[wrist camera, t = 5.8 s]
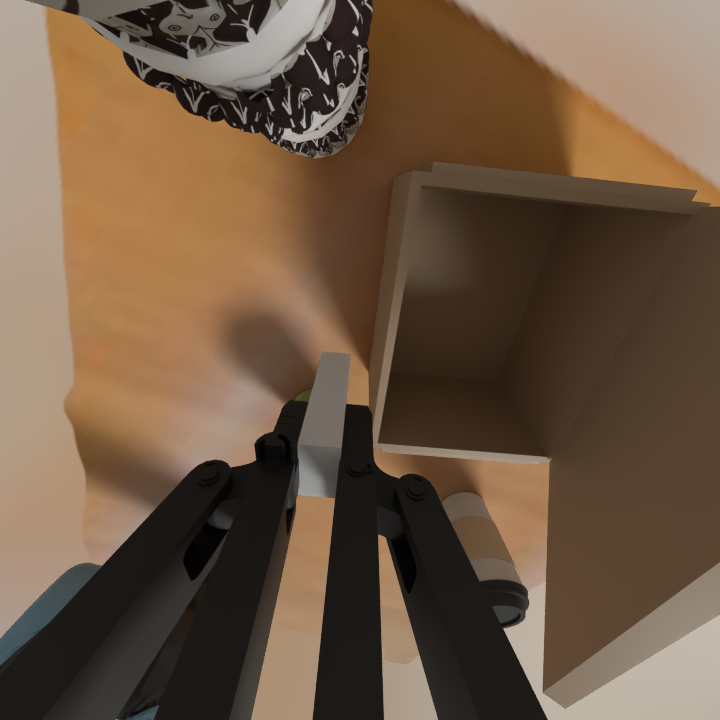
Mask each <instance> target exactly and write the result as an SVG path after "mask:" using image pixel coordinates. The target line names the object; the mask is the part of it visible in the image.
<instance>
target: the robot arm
mask: <svg viewBox="0 0 720 720" xmlns="http://www.w3.org/2000/svg"><path fill="white" fill-rule="evenodd" d="M349 365H350V354H342V353H331V352H322V355H321V358H320V362H319V366H318V370H317V373H316V377H315V381H314V384H313V388H312V392H311V396H310V399H309V402H307V401H294V400H290V401H289V402H288V403H286V404H285V405H284V406H283V408H282V410H281V413H280V415H279V418H278V421H277V424H276V426H275V429H274V431H273V432H270V433H267V434H264V435H263V436H261V437H260V438H259V439H258V440H257V441H256V443H255V444H254V445H255V453H256V461H254V462H252V463H250V464H246V465H242V466H237V467H232V468H230V466H229V465H228V463H226V462H224V461H221V460H211V461H206V462H204V463H202V464H200V465H198V466H197V467H195V468H194V469H193V470H192V471H191V472H190V473H189V474H188V475H187V476H186V477H185V478H184V479H183V480H182V481H181V482H180V483H179V485H178V486H177V487H176V488H175V489H174V490H173V491H172V492H171V493H170V494H169V495H168V496H167V497H166V498H165V499H164V501H163V502H162V503H161V504H160V505H159V506H158V507H157V508H156V509H155V510H154V511H153V512H152V513H151V514H150V515H149V517H148V518H147V519H146V520H145V521H144V522H143V523H142V524H141V525H140V526H139V527H138V528H137V529H136V530H135V532H134V533H133V534H132V535H131V536H130V537H129V538H128V539H127V540H126V541H125V542H124V543H123V544H122V545H121V546H120V548H119V549H118V550H117V551H116V552H115V553H114V554H113V555H112V556H111V557H110V558H109V559H108V560H107V561H106V562H105V564H104V565H103V566H100V565H96V564H93V563H82V564H78V565H76V566H74V567H72V568H70V569H69V570H67V571H66V572H65V573H64V574H63V575H61V576H60V577H59V578H58V579H57V580H56V581H55V582H54V583H53V584H52V585H51V586H50V587H49V588H48V589H47V590H46V591H45V592H44V593H43V594H42V595H41V596H40V597H39V598H38V599H37V600H36V601H35V602H34V603H33V604H32V605H31V606H30V607H29V608H28V609H27V610H26V611H25V612H24V614H23V615H22V616H21V617H20V618H19V619H18V620H17V621H16V622H15V623H14V624H13V625H12V626H11V628H10V629H9V630H8V631H7V632H6V633H5V634H4V635H3V636H2V638H1V639H0V720H115V719H118V720H251V716H252V712H253V707H254V703H255V698H256V693H257V689H258V684H259V679H260V675H261V670H262V665H263V661H264V656H265V651H266V647H267V642H268V637H269V633H270V628H271V623H272V619H273V614H274V610H275V605H276V600H277V596H278V591H279V586H280V582H281V577H282V572H283V568H284V563H285V559H286V554H287V549H288V545H289V540H290V535H291V531H292V526H293V521H294V517H295V512H296V498H297V493H298V494H299V495H300V496H314V497H328V498H335V506H334V516H333V525H332V535H331V545H330V555H329V565H328V574H327V584H326V594H325V604H324V614H323V623H322V633H321V643H320V653H319V662H318V672H317V682H316V692H315V702H314V711H313V720H384V710H383V678H382V646H381V614H380V583H379V552H378V534H379V535H382V536H384V537H386V539H387V543H388V546H389V550H390V553H391V557H392V560H393V564H394V567H395V571H396V574H397V578H398V581H399V585H400V588H401V592H402V595H403V599H404V602H405V606H406V609H407V612H408V616H409V619H410V623H411V626H412V630H413V633H414V637H415V640H416V644H417V647H418V651H419V654H420V658H421V661H422V664H423V668H424V672H425V675H426V678H427V682H428V685H429V689H430V692H431V696H432V699H433V703H434V706H435V710H436V713H437V717H438V720H548V719H547V717H546V715H545V713H544V711H543V709H542V708H541V705H540V703H539V701H538V699H537V697H536V695H535V693H534V691H533V690H532V687H531V685H530V683H529V681H528V679H527V677H526V675H525V673H524V671H523V668H522V666H521V665H520V662H519V660H518V658H517V656H516V654H515V652H514V650H513V648H512V646H511V644H510V642H509V640H508V638H507V636H506V634H505V632H504V630H503V628H502V626H501V624H500V622H499V620H498V617H497V615H496V613H495V611H494V609H493V607H492V605H491V603H490V601H489V599H488V597H487V595H486V593H485V591H484V589H483V587H482V585H481V583H480V581H479V579H478V577H477V575H476V573H475V571H474V569H473V566H472V564H471V562H470V560H469V558H468V556H467V554H466V552H465V550H464V548H463V546H462V544H461V542H460V540H459V538H458V536H457V534H456V532H455V530H454V528H453V526H452V524H451V522H450V520H449V518H448V515H447V513H446V511H445V509H444V507H443V505H442V503H441V501H440V499H439V497H438V495H437V493H436V491H435V489H434V487H433V486H432V484H431V483H430V482H429V481H428V480H427V479H425V478H424V477H422V476H420V475H417V474H407V475H404V476H402V477H401V478H400V479H398V478H396V477H393V476H390V475H388V474H386V473H384V472H383V471H381V470H380V469H379V468H378V466H377V465H376V463H375V461H374V457H373V424H372V412H371V411H370V409H369V407H368V406H364V405H352V404H346V400H347V388H348V377H349Z"/></svg>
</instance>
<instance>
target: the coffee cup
mask: <svg viewBox="0 0 720 720" xmlns="http://www.w3.org/2000/svg"><path fill="white" fill-rule="evenodd" d="M442 505H443V507H444V509H445V511H446V513H447V515H448V518H449V520H450V522H451V524H452V526H453V528H454V530H455V532H456V534H457V536H458V538H459V540H460V542H461V544H462V546H463V548H464V550H465V552H466V554H467V556H468V558H469V560H470V562H471V564H472V566H473V569H474V571H475V573H476V575H477V577H478V579H479V581H480V583H481V585H482V587H483V589H484V591H485V593H486V595H487V597H488V599H489V601H490V603H491V605H492V607H493V609H494V611H495V613H496V615H497V617H498V620H499V622H500V624H501V626H502V628H507V627H511V626H514V625H517V624H519V623H520V622H522V621H523V620H524V619H525V611H526V610H527V608H528V606H529V600H528V591H527V589H526V588H525V587H524V586H523V584H522V582H521V580H520V578H519V576H518V574H517V569H516V566H515V564H514V562H513V560H512V558H511V556H510V554H509V552H508V550H507V548H506V546H505V543H504V541H503V539H502V537H501V535H500V533H499V531H498V529H497V527H496V525H495V523H494V522H493V520H492V518H491V516H490V514H489V512H488V510H487V508H486V506H485V503H484V501H483V499H482V498H481V497H480V496H479V495H477V494H474V493H470V492H460V493H455V494H452V495H450V496H448V497H447V498H446V499H445V500H444V501H443V502H442Z"/></svg>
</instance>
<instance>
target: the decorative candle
mask: <svg viewBox="0 0 720 720" xmlns="http://www.w3.org/2000/svg"><path fill="white" fill-rule="evenodd" d="M26 1H30V2H34V3H37V4H40V5H44V6H47V7H51V8H54V9H58V10H61V11H65V12H68V13H72V14H75V15H77V16H79V17H80V18H81V19H83V20H84V21H85V22H87V23H88V24H89V25H90V26H91V27H92V28H93V29H94V30H95V31H97V32H98V33H99V34H100V35H102V36H103V37H105V38H106V39H108V40H110V41H111V42H113V43H114V44H115V45H117V46H118V47H119V48H121V49H122V50H123V55H124V59H125V61H126V63H127V65H128V67H129V68H130V70H131V71H132V72H133V73H134V74H135V75H136V76H137V77H138V78H139V79H141V80H142V81H144V82H145V83H147V84H148V85H150V86H153V87H156V88H164V89H166V90H167V91H170V92H172V93H175V95H176V97H177V99H178V101H179V102H180V104H181V105H182V107H183V108H184V109H185V110H187V111H188V112H189V113H191V114H193V115H197V116H203V117H204V118H205V119H207V120H209V121H211V122H217V121H221V120H223V119H225V121H226V122H227V123H228V124H229V125H230V126H231V127H233V128H238V129H240V130H241V131H243V132H250V133H259V132H261V133H262V134H264V135H265V136H266V137H267V138H268V139H269V141H271V142H272V143H273V144H277V145H278V146H280V147H282V148H283V149H284V150H286V151H289V152H291V153H296V154H299V155H302V156H305V157H307V158H314V159H317V158H322V157H327V156H331V155H335V154H336V153H338V152H339V151H340V150H341V149H343V148H344V147H345V146H346V145H348V144H349V143H350V142H351V141H352V139H353V138H354V136H355V134H356V132H357V130H358V129H359V127H360V125H361V123H362V121H363V117H364V112H365V110H366V101H367V88H368V85H369V70H368V69H369V63H368V62H369V50H368V46H367V44H366V43H367V40H368V37H369V31H370V24H371V20H372V14H373V4H372V0H26ZM180 76H181V77H184V78H186V81H185V80H184V79H182V78H181V77H180Z"/></svg>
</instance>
